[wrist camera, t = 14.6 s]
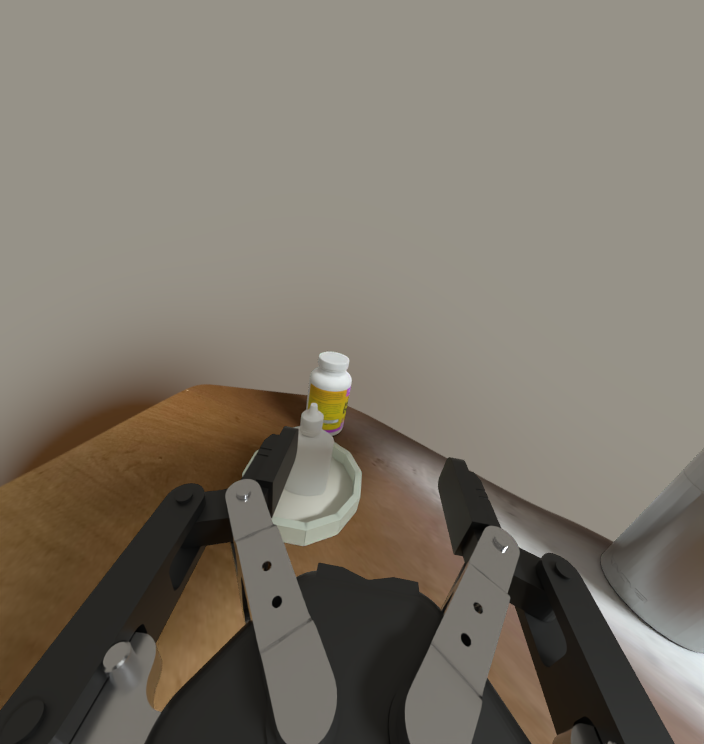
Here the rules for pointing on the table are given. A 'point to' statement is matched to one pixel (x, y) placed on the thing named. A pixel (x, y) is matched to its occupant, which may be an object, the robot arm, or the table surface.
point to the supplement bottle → (330, 390)
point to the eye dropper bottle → (311, 456)
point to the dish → (320, 503)
